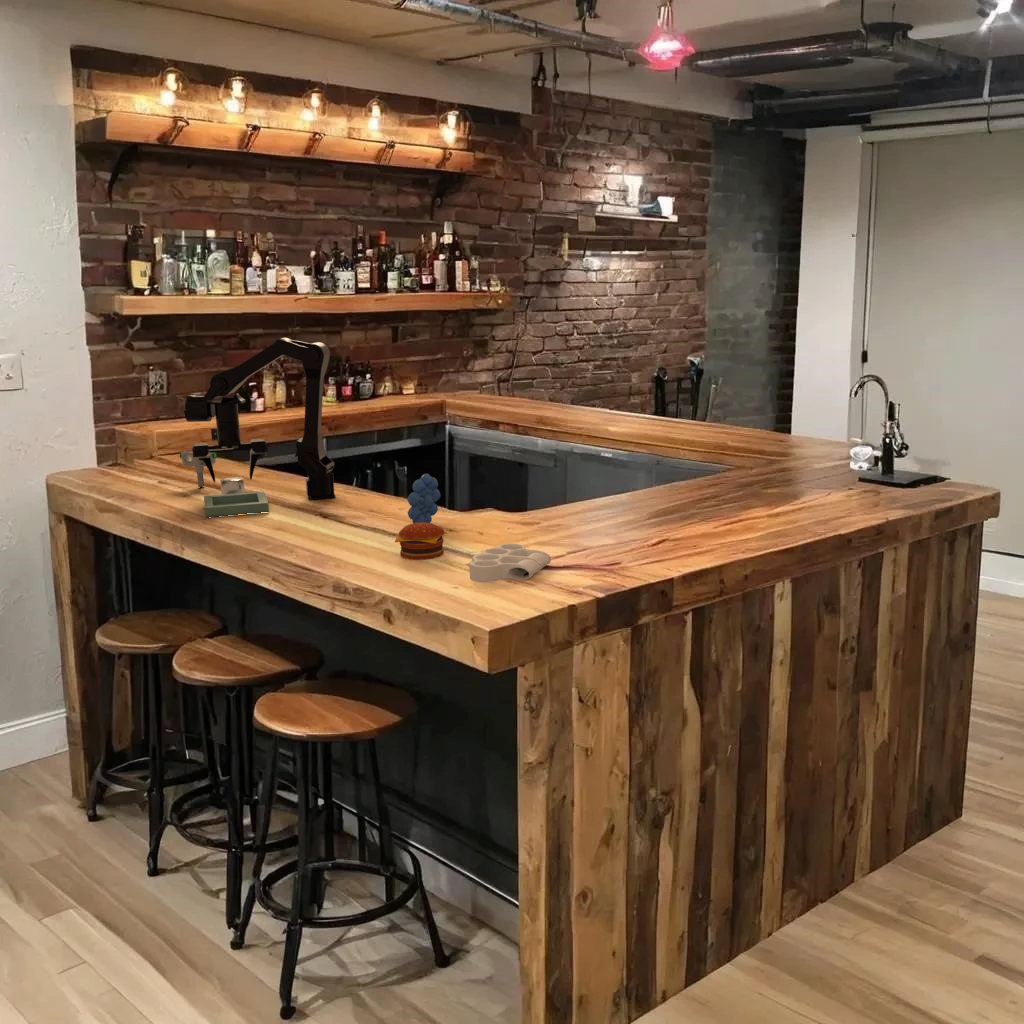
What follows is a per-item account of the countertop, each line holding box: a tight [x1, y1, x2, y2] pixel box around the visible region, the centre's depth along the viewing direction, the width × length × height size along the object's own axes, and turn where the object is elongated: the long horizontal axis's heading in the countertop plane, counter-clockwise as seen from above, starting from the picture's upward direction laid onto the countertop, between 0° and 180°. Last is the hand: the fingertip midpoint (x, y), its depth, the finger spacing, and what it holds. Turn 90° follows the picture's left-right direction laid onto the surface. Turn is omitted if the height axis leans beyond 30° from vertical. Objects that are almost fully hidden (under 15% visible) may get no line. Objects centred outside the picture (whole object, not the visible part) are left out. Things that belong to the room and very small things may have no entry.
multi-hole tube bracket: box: [465, 543, 552, 583], centre depth 220 cm, size 3×18×15 cm
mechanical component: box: [179, 450, 218, 488], centre depth 309 cm, size 3×10×10 cm, turn 79°
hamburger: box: [394, 522, 448, 561], centre depth 233 cm, size 9×10×7 cm
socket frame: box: [203, 490, 270, 519], centre depth 281 cm, size 15×15×3 cm
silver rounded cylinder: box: [220, 476, 246, 495], centre depth 295 cm, size 6×6×5 cm
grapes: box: [407, 473, 441, 524], centre depth 257 cm, size 12×7×12 cm, turn 151°
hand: (232, 480), depth 294 cm, fingers open, 9 cm apart
